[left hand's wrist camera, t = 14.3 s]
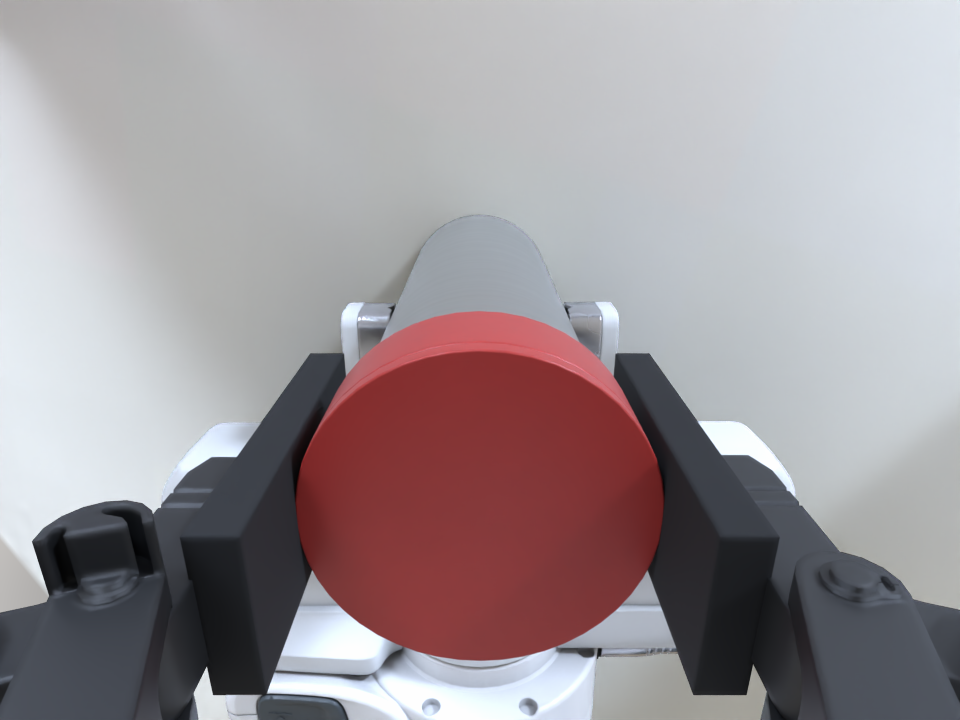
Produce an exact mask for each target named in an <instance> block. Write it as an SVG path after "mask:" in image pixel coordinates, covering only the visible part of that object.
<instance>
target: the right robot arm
mask: <svg viewBox="0 0 960 720" xmlns="http://www.w3.org/2000/svg"><path fill="white" fill-rule="evenodd" d="M563 306H564V309H565V311H566V313H567V315H568V318H569V320H570V322H571V324H572V327H573V329H574V331H575V333H576V336H577V338H578V340H579V342H580V343H581V344H583V345H584V346H585V347H586V348H587V349H588V350H590V351H591V352H592V353H593V354H594V355H595V356H596V357H598V358H599V360H600V361H601V362H602V363H603V364H604V365H605V366H606V368H607V369H608V370H609V371H610V372H611V373H612V375H613V376H614V365H615V353H617V349H618V336H619V318H618V312H617V310H616V309H615V307H614V306H613V305H612V303H611V302H564V305H563ZM395 308H396V304H395V303H364V302H360V303H348V305H347V306H346V308H345V309H344V311H343V312H342V317H341V340H342V352H343V353H344V358H345V369H346V376H347V374H348V373H349V372H350V371H351V369H352V368H353V367H354V366H355V365H356V364H357V362H358V361H359V360H360V359H361V358H362V357H363V356H364V355H366V354H367V353H368V352H369V351H370V350H371V349H372V348H373V347H375V346H376V345H377V344H379V343H380V342H381V339H382V337H383V335H384V333H385V330H386V328H387V326H388V323H389V321H390V319H391V317H392V314H393V312H394V310H395ZM698 423H699V424H700V426H701V427H702V428H703V430H704V431H705V433H706V434H707V435H708V437H709V438H710V440H711V441H712V442H713V444H714V445H715V447H716V448H717V449H718V451H719V452H720V454H721V455H749V456H751V457H752V458H754V459H756V460H757V461H759V462H760V463H762V464H764V465H765V466H767V467H768V468H770V469H771V470H773V472H774V473H775V474H776V475H777V476H778V478H779V479H780V480H781V481H782V482H783V484H784V485H785V486H786V487H787V491H790V492H791V493H792V495H793V496H794V497H795V488H794V484H793V482H792V480H791V478H790V476H789V474H788V473H787V471H786V470H785V468H784V467H783V465H782V464H781V463H780V461H779V460H778V459H777V457H776V456H775V455H774V453H773V452H772V451H771V450H770V449H769V448H768V447H767V446H766V444H765V443H764V442H763V441H762V440H761V439H760V438H758V437H757V436H756V435H755V434H754V433H753V432H752V431H751V430H750V429H749V428H748V427H747V426H745V425H744V424H742V423H739V422H733V421H698ZM260 424H261V423H220V424H217V425H215V426H213V427H212V428H210V429H209V430H208V431H207V432H206V433H205V434H204V435H203V436H202V437H201V438H200V439H199V440H198V441H197V442H196V443H195V444H194V445H193V446H192V447H191V448H190V449H189V450H188V452H187V453H186V454H185V455H184V457H183V458H182V459H181V460H180V462H179V463H178V464H177V466H176V467H175V469H174V470H173V472H172V473H171V475H170V476H169V478H168V480H167V482H166V484H165V486H164V489H163V493H162V503H163V502H164V500H165V499H166V498H167V497H168V496H169V494H170V493H173V489H174V488H175V487H176V486H177V485H178V483H179V482H180V481H181V480H182V479H183V477H184V476H185V475H186V474H187V472H189V471H190V470H192V469H193V468H195V467H197V466H198V465H200V464H201V463H203V462H204V461H206V460H208V459H209V458H211V457H237V456H238V454H239V453H240V452H241V450H242V449H243V447H244V446H245V445H246V443H247V442H248V440H249V439H250V438H251V436H252V435H253V433H254V432H255V431H256V429H257V428H258V426H259V425H260ZM660 653H661V654H667V653H668V654H678V652H677V649H676V646H675V644H674V641H673V638H672V636H671V633H670V630H669V627H668V625H667V622H666V619H665V617H664V614H663V611H662V608H661V606H660V603H659V600H658V598H657V595H656V592H655V589H654V587H653V584H652V581H651V579H650V576H649V573H648V570H647V572H646V574H645V576H644V577H643V579H642V580H641V582H640V583H639V585H638V586H637V587H636V589H635V590H634V591H633V593H632V594H631V595H630V596H629V597H628V599H627V600H626V601H625V602H624V603H623V604H622V605H621V606H620V607H619V608H618V609H617V610H616V611H615V612H614V613H612V614H611V615H610V616H609V617H607V618H606V619H605V620H604V621H603V622H601V623H600V624H598V625H597V626H595V627H594V628H592V629H591V630H589V631H588V632H586V633H585V634H583V635H581V636H579V637H577V638H575V639H573V640H571V641H569V642H567V643H565V644H562V645H560V646H557V647H554V648H552V649H549V650H546V651H543V652H539V653H535V654H532V655H528V656H524V657H517V658H511V659H504V660H490V661H470V660H456V659H449V658H442V657H436V656H432V655H428V654H424V653H420V652H416V651H414V650H411V649H408V648H405V647H403V646H400V645H397V644H395V643H393V642H391V641H389V640H387V639H385V638H383V637H381V636H379V635H377V634H375V633H374V632H372V631H370V630H369V629H367V628H366V627H364V626H363V625H361V624H360V623H358V622H357V621H356V620H355V619H353V618H352V617H351V616H350V615H348V614H347V613H346V612H345V611H344V610H343V609H342V608H341V607H340V606H339V605H338V604H337V603H336V602H335V601H334V600H333V599H332V598H331V597H330V596H329V595H328V593H327V592H326V591H325V589H324V588H323V586H322V585H321V584H320V582H319V581H318V580H317V578H316V576H315V574H314V573H313V571H312V572H311V575H310V578H309V580H308V583H307V586H306V588H305V591H304V594H303V597H302V599H301V602H300V605H299V607H298V610H297V613H296V616H295V618H294V621H293V624H292V626H291V629H290V632H289V635H288V637H287V640H286V643H285V645H284V648H283V651H282V654H281V656H280V659H279V662H278V664H277V667H276V670H275V673H274V675H273V678H272V681H271V683H270V686H269V689H268V692H267V694H266V695H226V707H227V711H228V715H229V717H230V719H231V720H591V719H592V707H593V696H594V684H595V672H596V661H597V659H598V657H604V656H605V657H640V656H646V655H647V656H649V655H653V654H654V655H656V654H660Z"/></svg>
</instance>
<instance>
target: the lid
mask: <svg viewBox="0 0 960 720" xmlns="http://www.w3.org/2000/svg"><path fill="white" fill-rule="evenodd" d="M295 505H296V513H297V522H298V529H299V536H300V543H301V546H302V548H303V551H304V554H305V556H306V559H307V562H308V563H309V565H310V567H311V569H312V571H313V573H314V574H315V576H316V578H317V580H318V581H319V582H320V584H321V585H322V586H323V588H324V589H325V591H326V592H327V593H328V595H329V596H330V597H331V598H332V599H333V600H334V601H335V602H336V603H337V604H338V605H339V606H340V607H341V608H342V609H343V610H344V611H345V612H346V613H347V614H348V615H350V616H351V617H352V618H353V619H355V620H356V621H357V622H358V623H360V624H361V625H363V626H364V627H366V628H367V629H369V630H370V631H372V632H374V633H375V634H377V635H379V636H381V637H383V638H385V639H387V640H389V641H391V642H393V643H395V644H397V645H400V646H403V647H405V648H408V649H411V650H414V651H416V652H420V653H424V654H428V655H432V656H436V657H442V658H449V659H456V660H470V661H490V660H504V659H511V658H517V657H524V656H528V655H532V654H535V653H539V652H543V651H546V650H549V649H552V648H554V647H557V646H560V645H562V644H565V643H567V642H569V641H571V640H573V639H575V638H577V637H579V636H581V635H583V634H585V633H586V632H588V631H589V630H591V629H592V628H594V627H595V626H597V625H598V624H600V623H601V622H603V621H604V620H605V619H606V618H607V617H609V616H610V615H611V614H612V613H614V612H615V611H616V610H617V609H618V608H619V607H620V606H621V605H622V604H623V603H624V602H625V601H626V600H627V599H628V597H629V596H630V595H631V594H632V593H633V591H634V590H635V589H636V587H637V586H638V585H639V583H640V582H641V580H642V579H643V577H644V576H645V574H646V572H647V570H648V568H649V566H650V564H651V562H652V561H653V558H654V555H655V553H656V550H657V547H658V544H659V541H660V533H661V526H662V518H663V510H664V489H663V480H662V476H661V473H660V469H659V465H658V462H657V458H656V456H655V454H654V452H653V450H652V447H651V445H650V443H649V441H648V439H647V437H646V435H645V433H644V431H643V429H642V427H641V425H640V423H639V421H638V419H637V417H636V416H635V414H634V412H633V410H632V408H631V406H630V404H629V402H628V400H627V398H626V396H625V394H624V393H623V391H622V389H621V387H620V386H619V384H618V383H617V381H616V380H615V378H614V376H613V375H612V373H611V372H610V371H609V370H608V369H607V368H606V366H605V365H604V364H603V363H602V362H601V361H600V360H599V358H598V357H596V356H595V355H594V354H593V353H592V352H591V351H590V350H588V349H587V348H586V347H585V346H584V345H583V344H581V343H580V342H578V341H577V340H575V339H573V338H572V337H570V336H569V335H567V334H566V333H564V332H562V331H560V330H558V329H556V328H554V327H551V326H549V325H547V324H545V323H542V322H539V321H536V320H533V319H530V318H527V317H524V316H518V315H513V314H507V313H502V312H486V311H473V312H458V313H452V314H447V315H442V316H437V317H433V318H430V319H427V320H424V321H421V322H418V323H415V324H412V325H410V326H408V327H406V328H404V329H402V330H400V331H398V332H396V333H394V334H392V335H391V336H389V337H388V338H386V339H385V340H383V341H382V342H380V343H379V344H377V345H376V346H375V347H373V348H372V349H371V350H370V351H369V352H368V353H367V354H366V355H364V356H363V357H362V358H361V359H360V360H359V361H358V362H357V364H356V365H355V366H354V367H353V368H352V369H351V371H350V372H349V373H348V374H347V376H346V377H345V379H344V380H343V382H342V384H341V385H340V387H339V388H338V390H337V392H336V394H335V396H334V397H333V399H332V401H331V403H330V405H329V407H328V409H327V411H326V413H325V415H324V417H323V419H322V420H321V422H320V424H319V426H318V428H317V430H316V432H315V434H314V436H313V438H312V440H311V442H310V444H309V446H308V449H307V451H306V453H305V455H304V458H303V460H302V463H301V467H300V471H299V475H298V479H297V485H296V495H295Z"/></svg>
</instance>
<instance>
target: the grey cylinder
mask: <svg viewBox="0 0 960 720" xmlns="http://www.w3.org/2000/svg"><path fill="white" fill-rule="evenodd" d="M473 311H486V312H502V313H507V314H513V315H518V316H524V317H527V318H530V319H533V320H536V321H539V322H542V323H545V324H547V325H549V326H551V327H554V328H556V329H558V330H560V331H562V332H564V333H566V334H567V335H569V336H570V337H572V338H573V339H575V340H577V341H578V342H579V340H578V338H577V336H576V333H575V331H574V329H573V327H572V324H571V322H570V320H569V318H568V315H567V313H566V311H565V309H564V306H563V304H562V302H561V300H560V297H559V295H558V293H557V290H556V288H555V286H554V284H553V281H552V279H551V277H550V275H549V272H548V270H547V268H546V266H545V263H544V261H543V259H542V257H541V254H540V252H539V250H538V248H537V247H536V245H535V244H534V242H533V241H532V240H531V238H530V237H529V236H528V235H527V234H526V233H525V232H524V231H523V230H521V229H520V228H519V227H517V226H516V225H514V224H512V223H510V222H508V221H506V220H504V219H501V218H498V217H493V216H488V215H472V216H466V217H461V218H459V219H456V220H453V221H451V222H449V223H447V224H445V225H444V226H442V227H441V228H439V229H438V230H437V231H436V232H435V233H434V234H433V235H431V237H430V238H429V239H428V240H427V241H426V243H425V244H424V246H423V248H422V249H421V251H420V253H419V256H418V258H417V260H416V262H415V265H414V267H413V269H412V271H411V274H410V276H409V278H408V280H407V283H406V285H405V287H404V290H403V292H402V294H401V296H400V299H399V301H398V303H397V305H396V308H395V310H394V312H393V314H392V317H391V319H390V321H389V323H388V326H387V328H386V330H385V333H384V335H383V337H382V339H381V342H382V341H383V340H385V339H386V338H388V337H389V336H391V335H392V334H394V333H396V332H398V331H400V330H402V329H404V328H406V327H408V326H410V325H412V324H415V323H418V322H421V321H424V320H427V319H430V318H433V317H437V316H442V315H447V314H452V313H458V312H473Z"/></svg>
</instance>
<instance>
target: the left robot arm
mask: <svg viewBox="0 0 960 720" xmlns="http://www.w3.org/2000/svg"><path fill="white" fill-rule="evenodd" d="M345 377H346V369H345V358H344V353H328V354H310V355H309V356H308V358H307V359H306V360H305V362H304V363H303V365H302V366H301V368H300V369H299V370H298V372H297V373H296V375H295V376H294V377H293V379H292V380H291V382H290V383H289V384H288V386H287V387H286V389H285V390H284V391H283V393H282V394H281V396H280V397H279V398H278V400H277V401H276V403H275V404H274V405H273V407H272V408H271V410H270V411H269V412H268V414H267V415H266V417H265V418H264V419H263V421H262V422H261V424H260V425H259V426H258V428H257V429H256V431H255V432H254V433H253V435H252V436H251V438H250V439H249V440H248V442H247V443H246V445H245V446H244V447H243V449H242V450H241V452H240V453H239V454H238V456H237V457H211V458H209V459H208V460H206V461H204V462H203V463H201V464H200V465H198V466H197V467H195V468H193V469H192V470H190V471H189V472H187V474H186V475H185V476H184V477H183V479H182V480H181V481H180V482H179V483H178V485H177V486H176V487H175V488H174V489H173V493H170V494H169V496H168V497H167V498H166V499H165V500H164V502H163V503H162V504H161V508H158V509H157V510H156V511H155V513H154V514H152V510H150V509H149V508H148V507H147V506H145V505H144V504H143V503H138V502H133V501H127V500H124V501H108V502H102V503H98V504H94V505H90V506H86V507H83V508H80V509H78V510H76V511H73V512H71V513H68V514H66V515H64V516H61V517H60V518H58V519H57V520H55V521H54V522H52V523H51V524H49V525H48V526H46V527H45V528H43V529H42V531H41V532H40V533H39V534H38V535H37V536H36V537H35V539H34V540H33V541H32V543H33V546H34V549H35V552H36V556H37V559H38V562H39V565H40V568H41V571H42V574H43V578H44V581H45V584H46V587H47V590H48V593H49V598H48V600H47V602H45V603H42V604H38V605H34V606H29V607H25V608H20V609H15V610H11V611H6V612H1V613H0V720H198V714H197V707H196V702H195V698H194V691H195V689H196V687H197V685H198V683H199V681H200V679H201V677H202V675H203V673H204V671H205V669H206V667H207V668H208V673H209V678H210V683H211V687H212V692H213V695H266V694H267V692H268V689H269V686H270V683H271V681H272V678H273V675H274V673H275V670H276V667H277V664H278V662H279V659H280V656H281V654H282V651H283V648H284V645H285V643H286V640H287V637H288V635H289V632H290V629H291V626H292V624H293V621H294V618H295V616H296V613H297V610H298V607H299V605H300V602H301V599H302V597H303V594H304V591H305V588H306V586H307V583H308V580H309V578H310V575H311V572H312V569H311V567H310V565H309V563H308V562H307V559H306V556H305V554H304V551H303V548H302V546H301V543H300V536H299V529H298V522H297V513H296V505H295V495H296V485H297V479H298V475H299V471H300V467H301V463H302V460H303V458H304V455H305V453H306V451H307V449H308V446H309V444H310V442H311V440H312V438H313V436H314V434H315V432H316V430H317V428H318V426H319V424H320V422H321V420H322V419H323V417H324V415H325V413H326V411H327V409H328V407H329V405H330V403H331V401H332V399H333V397H334V396H335V394H336V392H337V390H338V388H339V387H340V385H341V384H342V382H343V380H344V379H345ZM614 378H615V380H616V381H617V383H618V384H619V386H620V387H621V389H622V391H623V393H624V394H625V396H626V398H627V400H628V402H629V404H630V406H631V408H632V410H633V412H634V414H635V416H636V417H637V419H638V421H639V423H640V425H641V427H642V429H643V431H644V433H645V435H646V437H647V439H648V441H649V443H650V445H651V447H652V450H653V452H654V454H655V456H656V458H657V462H658V465H659V469H660V473H661V476H662V480H663V489H664V510H663V518H662V526H661V533H660V541H659V544H658V547H657V550H656V553H655V555H654V558H653V561H652V562H651V564H650V566H649V568H648V573H649V576H650V579H651V581H652V584H653V587H654V589H655V592H656V595H657V598H658V600H659V603H660V606H661V608H662V611H663V614H664V617H665V619H666V622H667V625H668V627H669V630H670V633H671V636H672V638H673V641H674V644H675V646H676V649H677V652H678V655H679V657H680V660H681V663H682V665H683V668H684V671H685V674H686V676H687V679H688V682H689V684H690V687H691V690H692V693H693V695H747V690H748V685H749V681H750V676H751V671H752V667H753V664H754V666H755V668H756V670H757V672H758V674H759V676H760V678H761V680H762V682H763V684H764V686H765V688H766V690H767V693H766V698H765V702H764V707H763V711H762V715H761V720H960V610H958V609H953V608H948V607H944V606H939V605H934V604H929V603H925V602H921V601H918V600H914V599H912V596H911V595H910V593H909V592H908V591H907V589H906V588H905V586H904V585H903V584H902V582H901V581H900V580H899V579H897V578H896V577H895V576H893V575H892V574H891V573H889V572H888V571H887V570H885V569H884V568H882V567H880V566H878V565H876V564H874V563H872V562H870V561H868V560H866V559H864V558H861V557H858V556H854V555H850V554H847V553H843V552H840V551H839V550H838V549H837V548H836V547H835V545H834V544H833V543H832V542H831V541H830V539H829V538H828V537H827V536H826V535H825V533H824V532H823V531H822V530H821V528H820V527H819V526H818V525H817V524H816V522H815V521H814V520H813V519H812V518H811V516H810V515H809V514H808V513H807V512H806V510H805V509H804V508H803V507H802V506H799V502H798V501H797V499H796V498H795V497H794V496H793V495H792V493H791V492H790V491H787V487H786V486H785V485H784V484H783V482H782V481H781V480H780V479H779V478H778V476H777V475H776V474H775V473H774V472H773V470H771V469H770V468H768V467H767V466H765V465H764V464H762V463H760V462H759V461H757V460H756V459H754V458H752V457H751V456H749V455H721V454H720V452H719V451H718V449H717V448H716V447H715V445H714V444H713V442H712V441H711V440H710V438H709V437H708V435H707V434H706V433H705V431H704V430H703V428H702V427H701V426H700V424H699V423H698V421H697V420H696V419H695V417H694V416H693V414H692V413H691V412H690V410H689V409H688V407H687V406H686V405H685V403H684V402H683V400H682V399H681V397H680V396H679V395H678V393H677V392H676V390H675V389H674V388H673V386H672V385H671V383H670V382H669V381H668V379H667V378H666V376H665V375H664V374H663V372H662V371H661V369H660V368H659V367H658V365H657V364H656V362H655V361H654V360H653V358H652V357H651V355H650V354H649V353H615V365H614Z"/></svg>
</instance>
